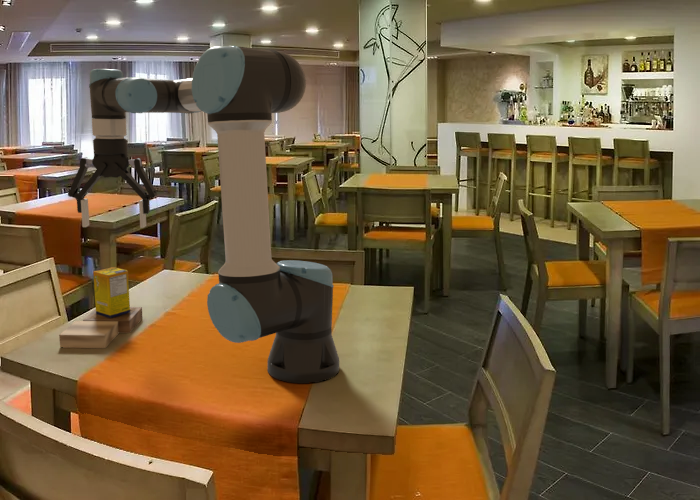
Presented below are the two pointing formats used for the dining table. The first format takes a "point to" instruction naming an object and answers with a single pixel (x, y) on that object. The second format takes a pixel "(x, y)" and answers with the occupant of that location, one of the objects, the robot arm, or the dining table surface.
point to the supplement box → (111, 292)
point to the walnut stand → (120, 319)
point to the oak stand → (89, 334)
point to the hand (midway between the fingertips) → (114, 226)
